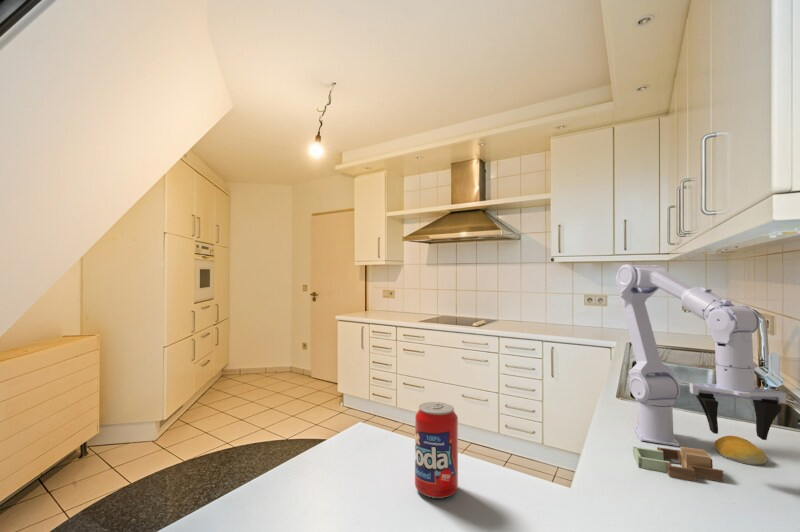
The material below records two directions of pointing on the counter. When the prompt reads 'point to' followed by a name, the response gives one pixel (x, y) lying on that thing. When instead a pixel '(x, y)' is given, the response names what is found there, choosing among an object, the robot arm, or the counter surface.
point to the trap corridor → (663, 460)
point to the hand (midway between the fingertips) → (737, 434)
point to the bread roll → (740, 450)
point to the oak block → (694, 457)
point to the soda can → (436, 450)
